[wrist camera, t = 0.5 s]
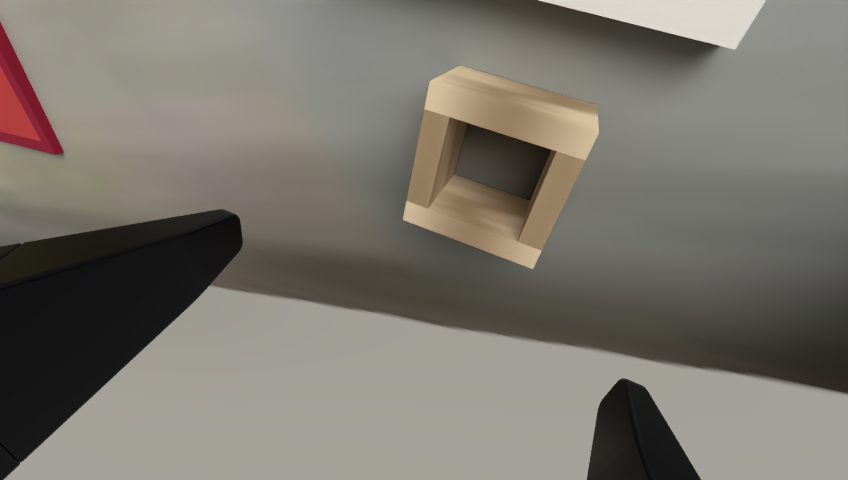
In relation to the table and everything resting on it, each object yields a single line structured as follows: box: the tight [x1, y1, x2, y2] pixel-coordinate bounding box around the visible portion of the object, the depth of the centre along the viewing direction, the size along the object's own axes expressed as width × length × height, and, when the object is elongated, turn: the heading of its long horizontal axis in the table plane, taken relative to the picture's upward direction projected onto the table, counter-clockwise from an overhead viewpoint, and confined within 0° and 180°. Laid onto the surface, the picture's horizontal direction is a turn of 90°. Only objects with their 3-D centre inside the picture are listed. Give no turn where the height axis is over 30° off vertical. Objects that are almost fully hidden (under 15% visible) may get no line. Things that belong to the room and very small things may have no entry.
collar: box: [403, 65, 599, 269], centre depth 16 cm, size 6×6×4 cm
